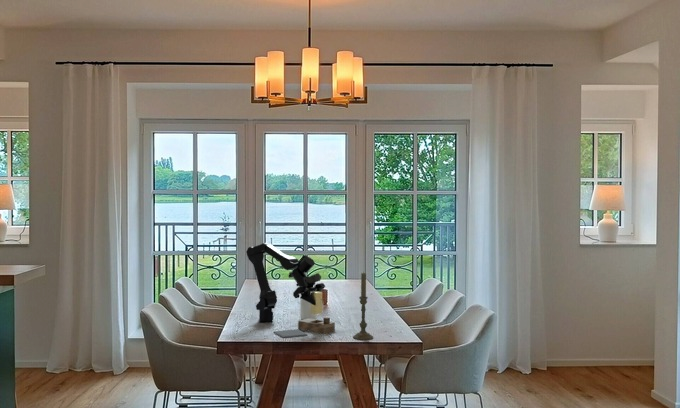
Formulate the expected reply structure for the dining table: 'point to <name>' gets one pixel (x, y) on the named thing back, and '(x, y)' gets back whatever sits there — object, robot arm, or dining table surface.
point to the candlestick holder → (363, 312)
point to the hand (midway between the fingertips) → (318, 304)
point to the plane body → (317, 325)
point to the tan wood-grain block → (318, 300)
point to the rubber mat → (290, 333)
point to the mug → (307, 310)
